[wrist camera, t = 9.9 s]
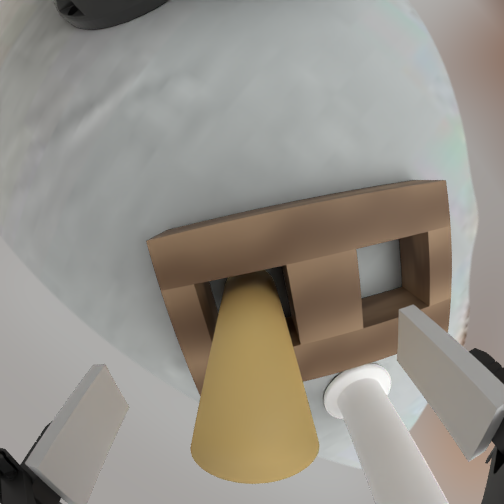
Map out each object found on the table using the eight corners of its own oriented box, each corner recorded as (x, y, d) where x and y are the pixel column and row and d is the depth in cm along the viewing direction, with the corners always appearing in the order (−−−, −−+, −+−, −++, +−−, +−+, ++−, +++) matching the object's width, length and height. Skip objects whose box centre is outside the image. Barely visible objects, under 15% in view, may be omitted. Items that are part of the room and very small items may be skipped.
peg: (218, 272, 21) (171, 422, 7) (270, 261, 21) (313, 403, 7) (231, 319, 22) (212, 486, 8) (280, 309, 22) (322, 472, 7)
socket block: (166, 230, 21) (146, 241, 16) (413, 180, 20) (445, 180, 16) (208, 365, 23) (201, 398, 19) (421, 312, 22) (447, 333, 18)
